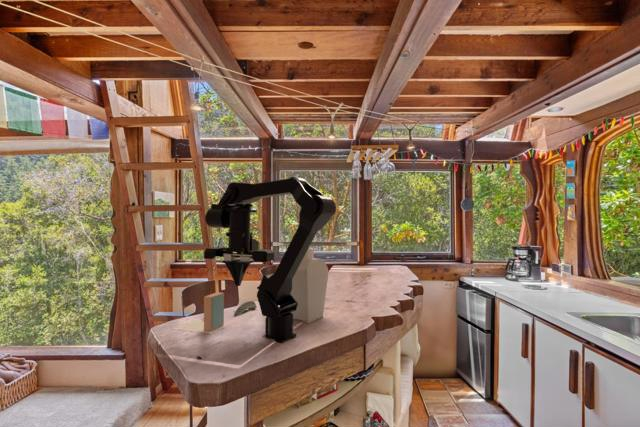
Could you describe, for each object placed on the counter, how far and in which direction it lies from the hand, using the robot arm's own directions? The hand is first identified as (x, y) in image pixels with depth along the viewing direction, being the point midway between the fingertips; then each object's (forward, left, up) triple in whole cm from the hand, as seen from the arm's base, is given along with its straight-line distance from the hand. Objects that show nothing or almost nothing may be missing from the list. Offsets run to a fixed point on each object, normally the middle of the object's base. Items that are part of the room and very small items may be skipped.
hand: (238, 285), depth 102 cm
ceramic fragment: (+11, -14, -13) cm, 22 cm away
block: (+5, +4, -11) cm, 13 cm away
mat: (+9, +5, -12) cm, 16 cm away
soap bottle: (-8, -20, -12) cm, 25 cm away
